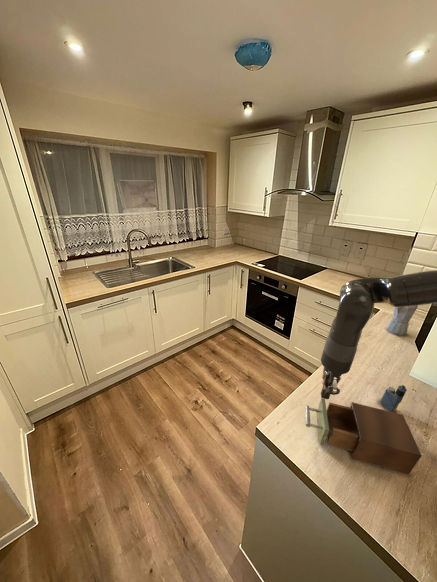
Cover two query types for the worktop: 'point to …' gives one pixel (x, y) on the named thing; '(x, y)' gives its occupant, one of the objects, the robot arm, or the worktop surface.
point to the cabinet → (384, 439)
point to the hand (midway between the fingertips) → (324, 396)
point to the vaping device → (393, 398)
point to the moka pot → (401, 320)
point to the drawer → (335, 425)
